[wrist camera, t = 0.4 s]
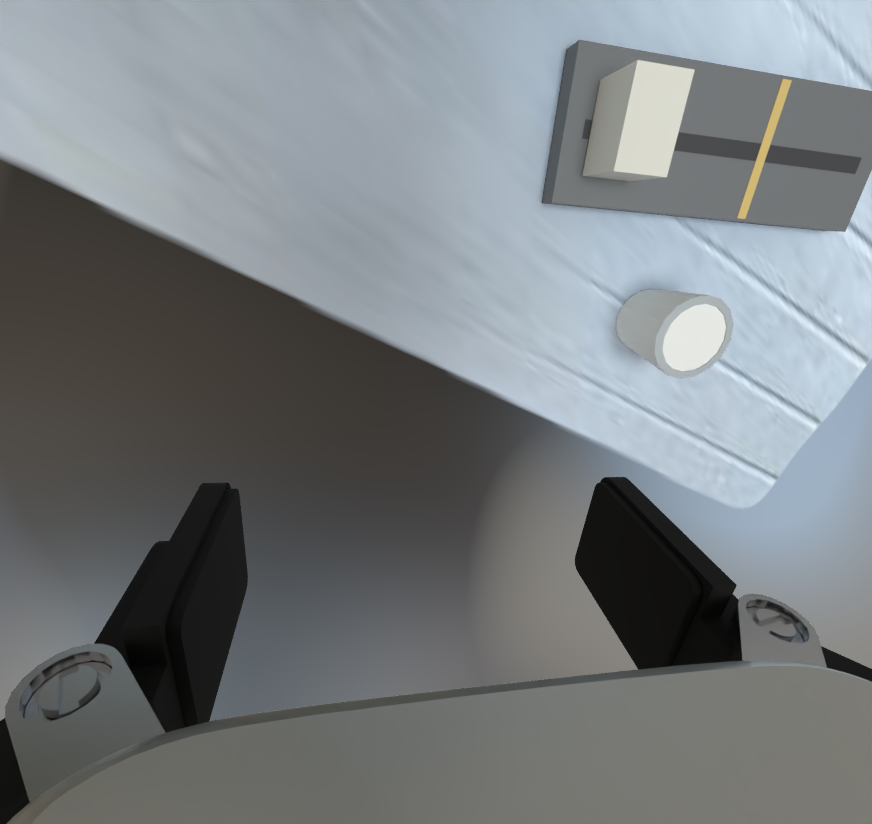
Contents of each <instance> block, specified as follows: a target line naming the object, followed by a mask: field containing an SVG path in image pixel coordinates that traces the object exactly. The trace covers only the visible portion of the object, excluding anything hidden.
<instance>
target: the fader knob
mask: <svg viewBox="0 0 872 824" xmlns="http://www.w3.org/2000/svg"><path fill="white" fill-rule="evenodd" d="M694 71H695V70H694V69H688V68H683V67H677V66H671V65H665V64H659V63H653V62H647V61H642V60H636V61H635V62H633V63H631V64H629V65H627V66H625V67H623V68H621V69H619V70H617V71H616V72H614V73H612V74H610V75H608V76H606V77H604V78H602V79H601V80H600V85H599V90H598V95H597V101H596V106H595V111H594V116H593V122H592V127H591V132H590V137H589V143H588V148H587V153H586V158H585V164H584V169H583V174H582V176H588V177H597V178H606V179H615V180H624V181H636V180H646V179H656V178H665V177H667V175H668V171H669V167H670V163H671V159H672V155H673V152H674V148H675V144H676V140H677V136H678V132H679V129H680V125H681V121H682V117H683V113H684V109H685V105H686V102H687V98H688V94H689V90H690V86H691V82H692V79H693V75H694Z"/></svg>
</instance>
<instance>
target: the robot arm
mask: <svg viewBox="0 0 872 824" xmlns="http://www.w3.org/2000/svg"><path fill="white" fill-rule="evenodd" d="M575 565H576V569H577V571H578V573H579V575H580V576H581V578H582V579H583V581H584V583H585V584H586V586H587V587H588V589H589V591H590V592H591V594H592V595H593V597H594V599H595V600H596V602H597V604H598V605H599V607H600V608H601V610H602V612H603V613H604V615H605V616H606V618H607V620H608V621H609V623H610V624H611V626H612V628H613V629H614V631H615V632H616V634H617V636H618V637H619V639H620V640H621V642H622V643H623V645H624V647H625V649H626V650H627V652H628V653H629V655H630V657H631V658H632V660H633V661H634V663H635V665H636V666H637V668H638V669H639V670H630V671H620V672H610V673H601V674H591V675H581V676H572V677H563V678H553V679H544V680H535V681H526V682H517V683H507V684H497V685H488V686H480V687H471V688H461V689H452V690H443V691H434V692H426V693H418V694H409V695H399V696H391V697H382V698H373V699H365V700H356V701H347V702H339V703H331V704H323V705H316V706H308V707H300V708H293V709H285V710H278V711H270V712H262V713H255V714H248V715H243V716H237V717H232V718H226V719H221V720H215V721H209V720H210V716H211V713H212V709H213V706H214V702H215V699H216V695H217V692H218V688H219V684H220V681H221V677H222V674H223V670H224V667H225V663H226V660H227V656H228V653H229V649H230V646H231V642H232V639H233V635H234V632H235V628H236V625H237V621H238V618H239V614H240V611H241V607H242V603H243V600H244V596H245V593H246V589H247V581H248V580H247V579H248V575H247V563H246V554H245V544H244V535H243V525H242V516H241V506H240V497H239V491H238V489H231V487H230V484H229V483H203V484H201V486H200V487H199V489H198V491H197V492H196V494H195V496H194V498H193V500H192V501H191V503H190V505H189V507H188V509H187V510H186V512H185V514H184V516H183V517H182V519H181V521H180V523H179V525H178V526H177V528H176V530H175V532H174V534H173V535H172V537H171V539H170V541H159V542H157V543H155V544H154V546H153V547H152V548H151V550H150V551H149V553H148V555H147V556H146V558H145V560H144V561H143V563H142V565H141V566H140V568H139V570H138V571H137V573H136V575H135V576H134V578H133V580H132V582H131V583H130V585H129V586H128V588H127V590H126V591H125V593H124V595H123V596H122V598H121V600H120V601H119V603H118V605H117V606H116V608H115V610H114V612H113V613H112V615H111V616H110V618H109V620H108V621H107V623H106V625H105V627H104V628H103V630H102V632H101V633H100V635H99V637H98V638H97V640H96V642H95V643H94V644H86V645H82V646H78V647H74V648H70V649H69V650H66V651H63V652H61V653H59V654H56V655H54V656H53V657H51V658H49V659H48V660H46V661H45V662H43V663H41V664H40V665H38V666H37V667H36V668H35V669H33V670H32V671H31V672H30V673H29V674H28V675H26V676H25V677H24V678H23V679H22V680H21V682H20V683H19V684H18V685H17V686H16V688H15V689H14V690H13V692H12V693H11V695H10V697H9V700H8V702H7V704H6V706H5V718H4V719H3V720H1V721H0V824H872V669H870V668H868V667H866V666H864V665H861V664H859V663H857V662H855V661H853V660H850V659H848V658H846V657H844V656H841V655H839V654H837V653H835V652H833V651H830V650H828V649H826V648H824V647H822V646H821V645H820V641H819V637H818V635H817V633H816V631H815V629H814V628H813V627H812V625H811V624H810V623H809V622H808V621H807V620H806V619H805V618H804V617H803V616H802V615H800V614H799V613H798V612H797V611H795V610H794V609H792V608H791V607H789V606H787V605H786V604H784V603H782V602H780V601H777V600H775V599H773V598H770V597H767V596H764V595H758V594H747V595H743V596H742V597H741V598H739V600H738V599H737V598H736V597H735V596H734V595H733V592H734V589H735V588H736V584H735V583H734V582H733V581H732V580H731V579H730V578H729V577H728V576H727V575H726V574H725V573H724V572H722V571H721V569H720V568H718V567H717V566H716V565H715V564H714V563H713V562H712V561H711V560H710V559H709V558H708V557H707V556H706V555H705V554H704V553H703V552H702V551H701V550H700V549H699V548H698V547H697V546H696V545H695V544H694V543H693V542H692V541H691V540H690V539H689V538H688V537H687V536H686V535H685V534H684V533H683V532H682V531H681V530H680V529H679V528H678V527H677V526H676V525H674V524H673V523H672V522H671V521H670V520H669V519H668V518H667V517H666V516H665V515H664V514H663V513H662V512H661V511H660V510H659V509H658V508H657V507H656V506H655V505H654V504H653V503H652V502H651V501H650V500H649V499H648V498H647V497H646V496H645V495H644V494H643V493H642V492H641V491H640V490H639V489H638V488H637V487H636V486H635V485H634V484H632V483H631V482H630V481H629V480H628V479H627V478H625V477H605V478H603V479H602V480H601V482H600V483H598V484H597V485H596V486H595V489H594V492H593V496H592V500H591V503H590V507H589V510H588V514H587V517H586V521H585V524H584V528H583V531H582V535H581V539H580V542H579V546H578V549H577V553H576V556H575Z"/></svg>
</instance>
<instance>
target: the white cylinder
mask: <svg viewBox="0 0 872 824" xmlns="http://www.w3.org/2000/svg"><path fill="white" fill-rule="evenodd" d="M732 329H733V320H732V315H731V310H730V309H729V308H728V307H727V305H726V304H725V303H724V302H723V301H722V300H721V299H718V298H715V297H712V296H709V295H702V294H692V293H683V292H674V291H665V290H656V289H649V290H642V291H640V292H638V293H636V294H634V295H633V296H631V297H630V298H629V299H628V300H627V301H626V302H625V303H624V304H623V306H622V307H621V309H620V312H619V314H618V316H617V320H616V331H617V334H618V337H619V339H620V340H621V341H622V342H623V343H624V344H625V345H626V346H627V347H629V348H630V349H631V350H633V351H634V352H636V353H637V354H638V355H640V356H641V357H643V358H644V359H646V360H647V361H648V362H650V363H651V364H653V365H654V366H655V367H657V368H658V369H660V370H661V371H662V372H664V373H665V374H667V375H669V376H672V377H676V378H680V379H681V378H687V377H693V376H696V375H698V374H700V373H702V372H704V371H705V370H707V369H709V368H710V367H711V366H712V365H713V364H714V363H715V362H716V361H717V360H718V359H719V358H720V357H721V356H722V355H723V353H724V351H725V349H726V347H727V345H728V344H729V342H730V339H731V334H732Z"/></svg>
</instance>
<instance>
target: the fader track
mask: <svg viewBox="0 0 872 824" xmlns="http://www.w3.org/2000/svg"><path fill="white" fill-rule="evenodd" d="M636 60H642V61H647V62H653V63H659V64H665V65H671V66H677V67H683V68H688V69H694V70H695V71H694V75H693V79H692V82H691V86H690V90H689V94H688V98H687V102H686V105H685V109H684V113H683V117H682V121H681V125H680V129H679V132H678V136H677V140H676V144H675V148H674V152H673V155H672V159H671V163H670V167H669V171H668V175H667V177H665V178H656V179H646V180H636V181H624V180H615V179H606V178H597V177H588V176H582V174H583V169H584V164H585V158H586V153H587V148H588V143H589V137H590V132H591V127H592V122H593V116H594V111H595V106H596V101H597V95H598V90H599V85H600V80H601V79H602V78H604V77H606V76H608V75H610V74H612V73H614V72H616V71H617V70H619V69H621V68H623V67H625V66H627V65H629V64H631V63H633V62H635V61H636ZM871 170H872V91H868V90H862V89H857V88H851V87H845V86H840V85H834V84H828V83H822V82H817V81H811V80H805V79H800V78H794V77H788V76H783V75H777V74H771V73H765V72H760V71H754V70H748V69H743V68H737V67H731V66H726V65H720V64H714V63H708V62H703V61H697V60H691V59H686V58H680V57H674V56H669V55H663V54H657V53H651V52H646V51H640V50H634V49H629V48H623V47H617V46H612V45H606V44H600V43H594V42H589V41H583V40H579V41H577V42H576V43H575V44H573V45H572V46H571V47H569V48H568V49H567V50H566V56H565V62H564V69H563V75H562V81H561V87H560V93H559V100H558V106H557V112H556V118H555V124H554V131H553V137H552V143H551V149H550V155H549V162H548V168H547V174H546V180H545V187H544V193H543V199H542V203H548V204H558V205H568V206H578V207H589V208H599V209H609V210H619V211H629V212H639V213H650V214H660V215H670V216H680V217H690V218H700V219H710V220H721V221H731V222H741V223H751V224H761V225H771V226H781V227H792V228H802V229H812V230H822V231H843V232H845V231H846V229H847V226H848V224H849V222H850V219H851V217H852V215H853V212H854V210H855V208H856V205H857V203H858V200H859V198H860V196H861V193H862V191H863V189H864V186H865V184H866V182H867V179H868V177H869V175H870V172H871Z"/></svg>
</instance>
